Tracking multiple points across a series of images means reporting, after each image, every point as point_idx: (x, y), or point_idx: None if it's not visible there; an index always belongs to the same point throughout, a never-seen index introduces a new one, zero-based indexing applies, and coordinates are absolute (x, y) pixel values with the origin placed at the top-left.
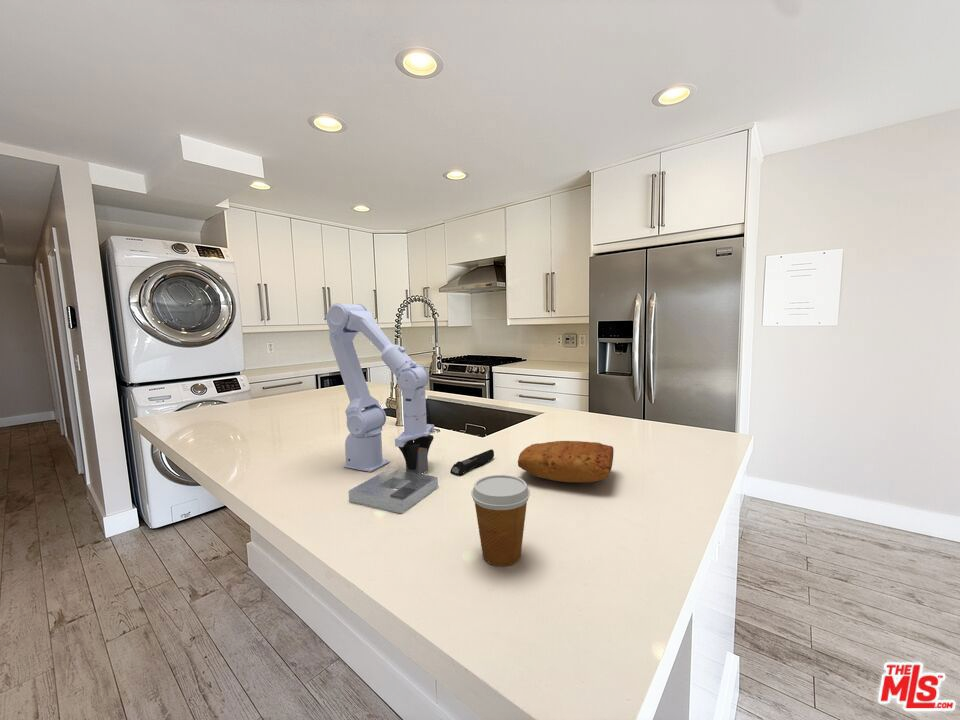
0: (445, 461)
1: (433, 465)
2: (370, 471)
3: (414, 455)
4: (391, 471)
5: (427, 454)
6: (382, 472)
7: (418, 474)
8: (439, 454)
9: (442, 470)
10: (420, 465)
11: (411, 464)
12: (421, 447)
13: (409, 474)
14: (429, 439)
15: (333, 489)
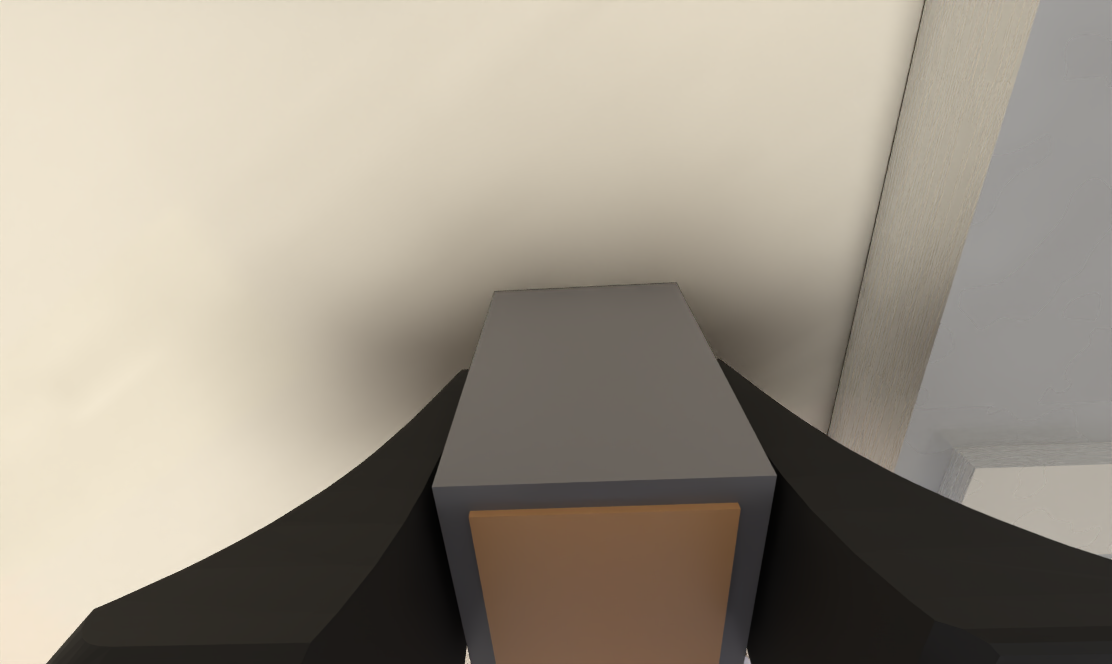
0: (147, 276)
1: (336, 326)
2: (746, 658)
3: (879, 472)
4: (1057, 489)
5: (415, 421)
6: (1096, 547)
7: (1031, 140)
8: (60, 447)
9: (393, 129)
10: (660, 338)
11: None
12: (459, 583)
13: (1033, 270)
14: (312, 651)
15: None
